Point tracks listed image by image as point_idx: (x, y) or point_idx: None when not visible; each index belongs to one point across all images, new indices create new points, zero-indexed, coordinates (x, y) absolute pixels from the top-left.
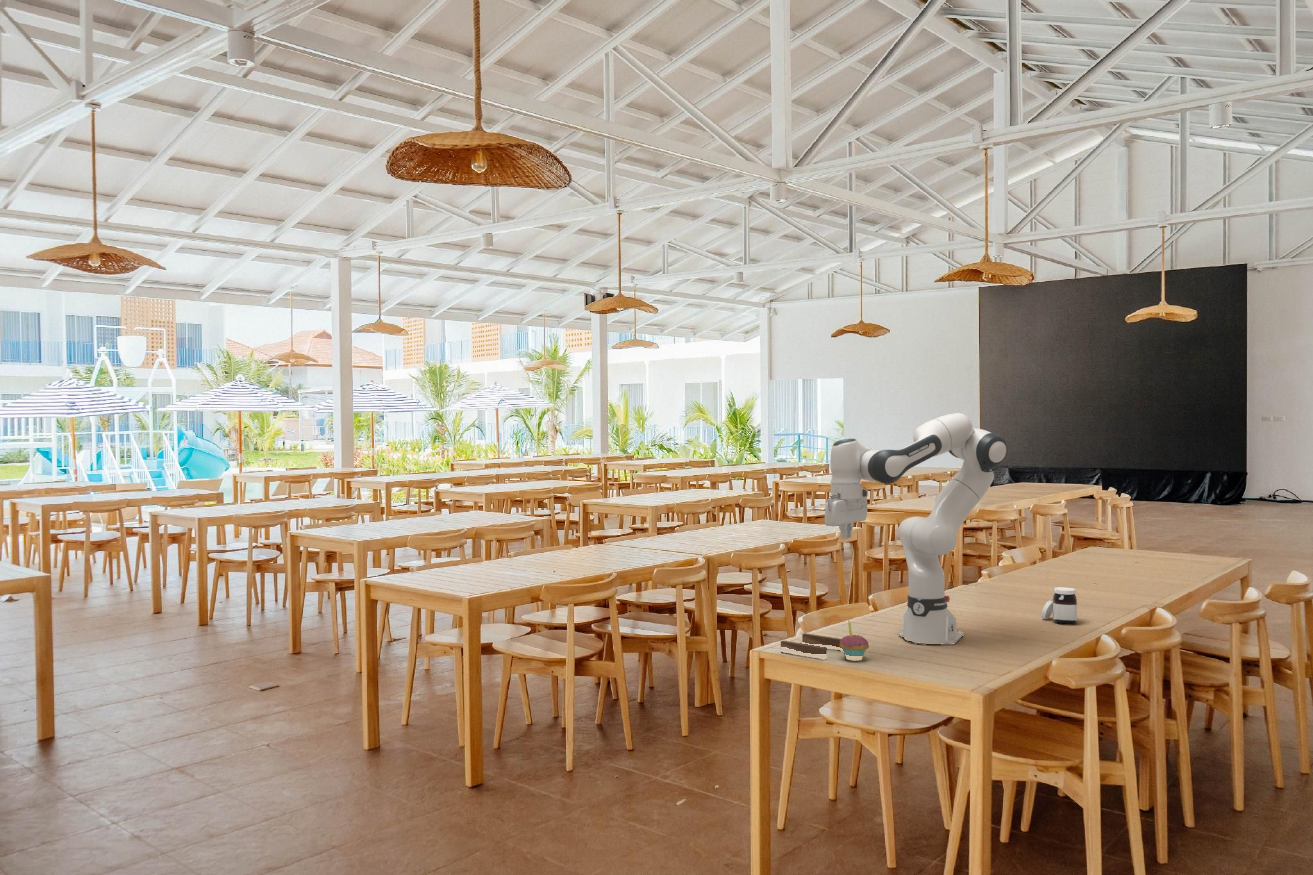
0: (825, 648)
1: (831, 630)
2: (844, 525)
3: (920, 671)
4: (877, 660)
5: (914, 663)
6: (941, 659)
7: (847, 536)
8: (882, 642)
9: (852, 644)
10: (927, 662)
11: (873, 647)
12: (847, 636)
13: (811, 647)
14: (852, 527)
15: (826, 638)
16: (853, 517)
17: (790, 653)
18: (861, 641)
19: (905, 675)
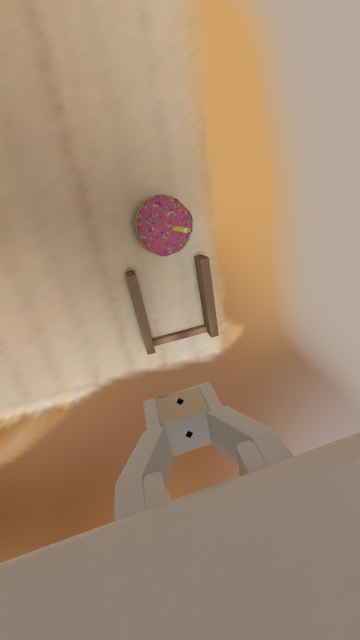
0: (203, 259)
1: (36, 390)
2: (289, 454)
3: (131, 52)
4: (132, 187)
5: (89, 109)
6: (3, 77)
7: (200, 392)
8: (14, 277)
9: (187, 210)
10: (56, 89)
11: (62, 261)
12: (175, 237)
13: (211, 281)
14: (132, 469)
15: (144, 310)
16: (168, 593)
17: None
18: (169, 201)
19: (180, 61)
